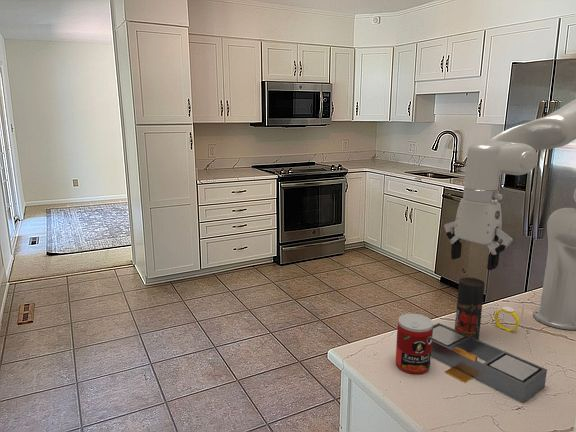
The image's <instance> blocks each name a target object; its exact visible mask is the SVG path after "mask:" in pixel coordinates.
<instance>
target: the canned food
mask: <svg viewBox="0 0 576 432" xmlns="http://www.w3.org/2000/svg"><path fill="white" fill-rule="evenodd" d="M397 319H398V320H397V328H396V329H397V330H396V347H395V348H396V349H395V362H396V365H397V367H398V369H400V370H401V371H403V372H405V373H408V374H413V375H421V374H424V373H426V372H427V371H429V369H430V366H431V358H432V357H431V347H432V335H433V325H434V322H433V321H432V319H431V318H429V317H427V316H425V315H424V314H419V313H405V314H404V313H403V314H402V315H400V316H398V318H397Z"/></svg>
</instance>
